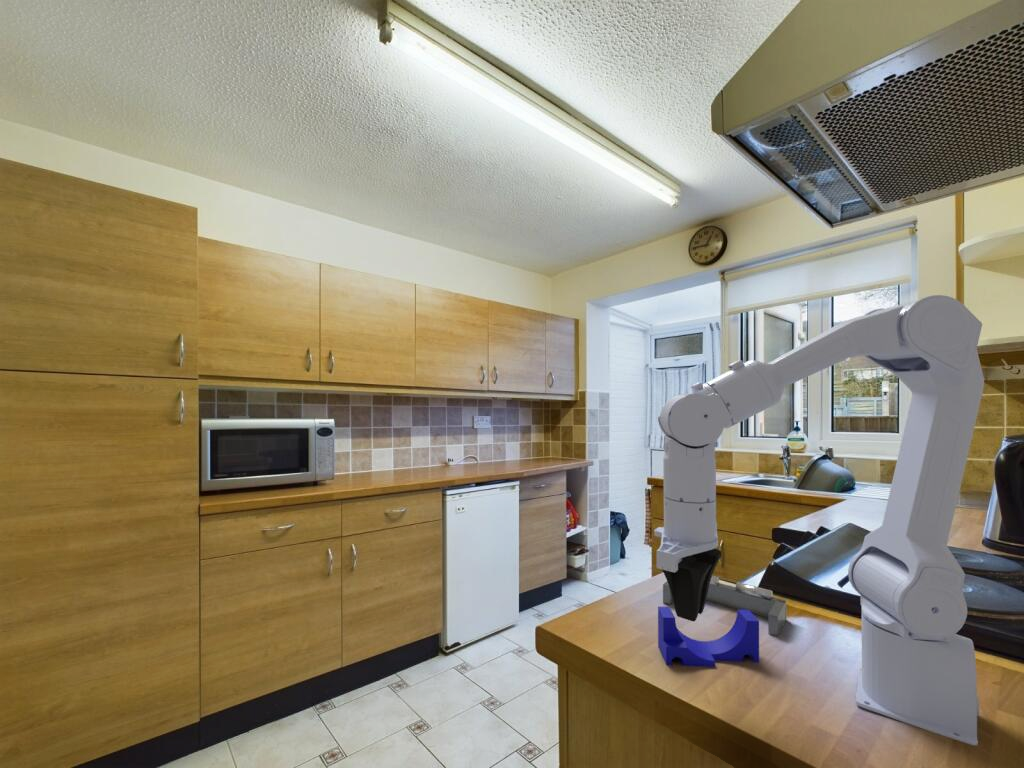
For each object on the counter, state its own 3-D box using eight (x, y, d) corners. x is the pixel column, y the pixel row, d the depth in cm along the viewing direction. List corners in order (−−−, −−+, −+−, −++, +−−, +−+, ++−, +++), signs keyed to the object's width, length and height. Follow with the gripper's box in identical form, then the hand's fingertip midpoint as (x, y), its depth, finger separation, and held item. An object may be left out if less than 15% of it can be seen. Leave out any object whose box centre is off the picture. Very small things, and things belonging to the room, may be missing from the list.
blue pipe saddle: (666, 670, 59) (666, 623, 59) (658, 650, 63) (658, 606, 63) (764, 675, 58) (764, 627, 58) (749, 654, 62) (749, 609, 62)
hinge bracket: (786, 619, 71) (786, 592, 71) (777, 637, 66) (777, 608, 66) (677, 588, 82) (677, 565, 82) (663, 602, 77) (662, 577, 77)
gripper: (677, 482, 62) (678, 584, 62) (629, 503, 51) (630, 627, 51) (734, 490, 58) (734, 599, 57) (695, 515, 46) (695, 651, 46)
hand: (689, 614), depth 54 cm, fingers closed
